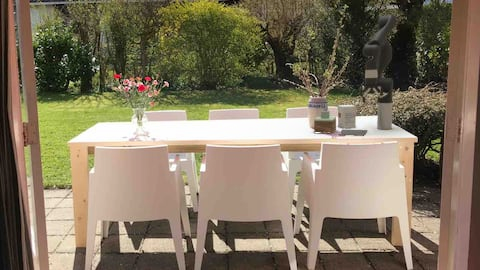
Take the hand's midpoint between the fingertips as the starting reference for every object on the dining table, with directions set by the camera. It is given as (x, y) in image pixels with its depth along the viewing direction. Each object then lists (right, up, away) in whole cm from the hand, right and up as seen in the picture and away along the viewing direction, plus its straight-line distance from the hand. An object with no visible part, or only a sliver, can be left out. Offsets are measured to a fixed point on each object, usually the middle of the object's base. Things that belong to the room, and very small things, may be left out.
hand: (371, 102), depth 322 cm
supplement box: (-10, -15, +24) cm, 31 cm away
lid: (-28, -11, +8) cm, 31 cm away
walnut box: (-27, -18, +10) cm, 34 cm away
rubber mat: (-11, -19, +2) cm, 22 cm away
